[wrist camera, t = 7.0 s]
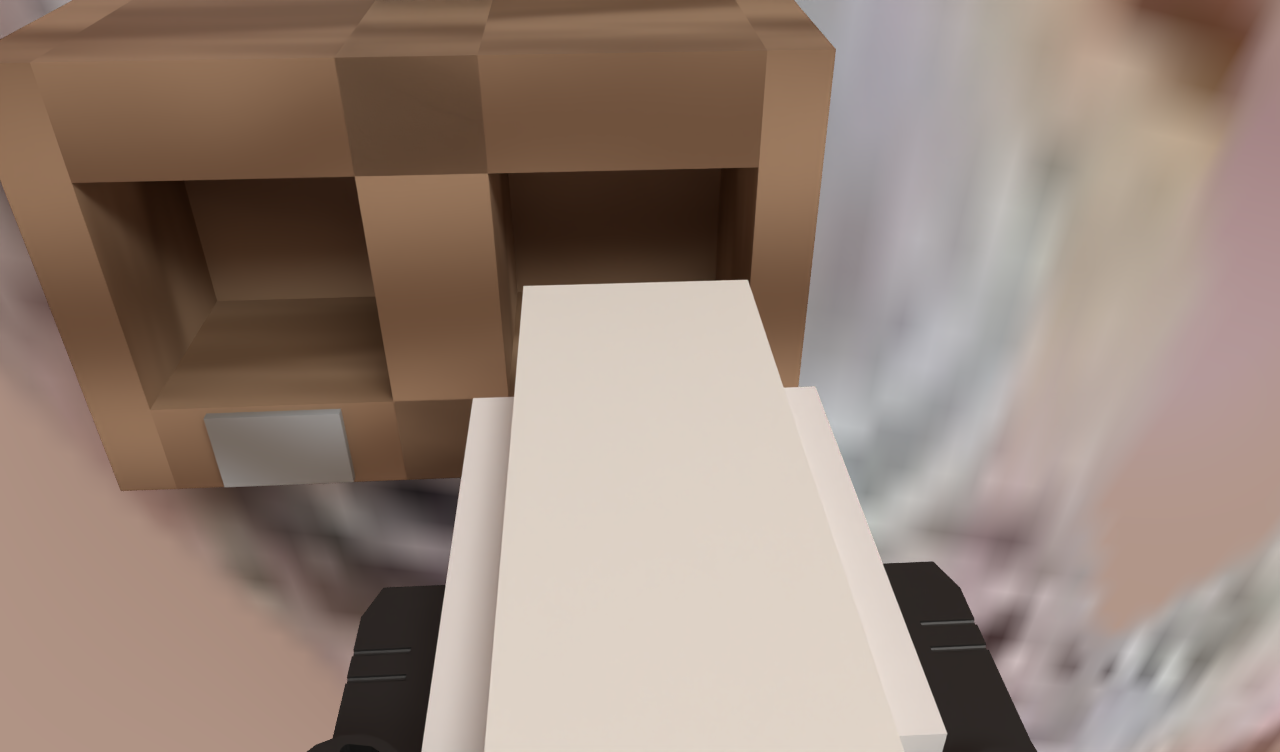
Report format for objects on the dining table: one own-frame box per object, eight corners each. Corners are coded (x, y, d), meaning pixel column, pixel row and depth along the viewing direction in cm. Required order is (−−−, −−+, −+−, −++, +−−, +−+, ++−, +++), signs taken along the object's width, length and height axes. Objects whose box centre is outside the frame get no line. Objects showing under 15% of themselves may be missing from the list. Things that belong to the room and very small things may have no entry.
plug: (523, 286, 17) (458, 1058, 7) (747, 279, 17) (993, 1021, 7) (536, 463, 19) (501, 1244, 9) (735, 456, 19) (911, 1211, 9)
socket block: (91, -11, 22) (-51, 66, 17) (777, -19, 23) (838, 51, 18) (202, 361, 28) (119, 502, 23) (750, 343, 29) (790, 476, 24)
